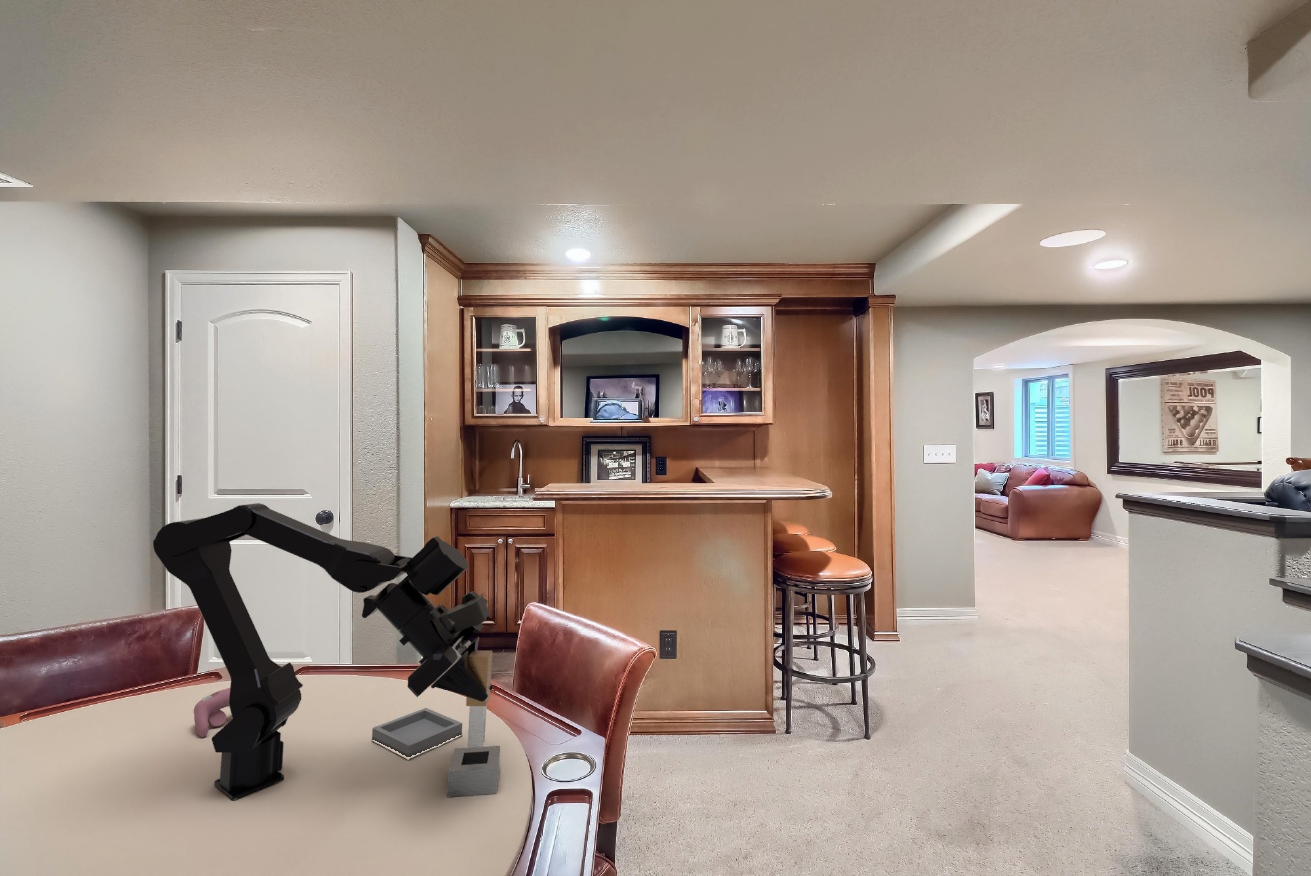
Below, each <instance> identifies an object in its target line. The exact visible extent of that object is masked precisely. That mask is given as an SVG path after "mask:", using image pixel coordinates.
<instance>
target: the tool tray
mask: <svg viewBox="0 0 1311 876" xmlns="http://www.w3.org/2000/svg"><path fill="white" fill-rule="evenodd" d="M371 731H372V733H371V741H372V740H375V741H377V742H379V743H381V744H383V745H385V746H387V747H390V748H391V749H394V750H395V751H398V752H399V753H401V754H402V755H405V756H406V757H411V756H412V755H416V754H417V753H421V752H422V751H425V750H427V749H430V748H432V747H434V746H438V745H439V744H442V743H443V742H446V741H447V740H450V739H451V738H455V737H456V736H459V735H461V734H462V735H463V722H460V721H458V720H456V719H453V718H452V717H449V716H446V715H445V714H442V713H439V712H437V711H435V710H432V709H430V708H427V707H424V708H421V709H420V710H416V711H414V712H410V713H408V714H406V715H403V716H400V717H398V718H395V719H392V720H389V721H387V722H385V723H381V724H379V725H377V726H376V725H375V726H374V727H372V730H371Z"/></svg>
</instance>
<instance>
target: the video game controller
mask: <svg viewBox="0 0 1311 876" xmlns="http://www.w3.org/2000/svg"><path fill="white" fill-rule="evenodd" d="M229 694H230V687H229V688H225V689H221V690H218V691H216V692H213V693H211V694H208V695H206V696H205V697H203V698H202V699H201V700H199V701H198V702H196V704H195V705H194V708H193V715H194V717H193V718H194V725H195V729H196V732H197V734H198V736H199V737H200V738H205V737H206V736H207V735H208V730H209V726H210V727H212V728H217V727H220V726H221V725H223V724H224V723H225V722H226V720H227V714H226V712H225V711H224V710H221V709H224V708H228V707H229ZM230 716H231V718H232V715H231V714H230Z"/></svg>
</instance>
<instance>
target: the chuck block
mask: <svg viewBox="0 0 1311 876" xmlns="http://www.w3.org/2000/svg"><path fill="white" fill-rule="evenodd" d="M500 756H501V745H491V746H490V745H488V746H482V747H457V748H454V750H453V754H452V757H451V762H450V763H449V767H448V768H449V769H448V772H447V773H448V775H447V789H446V790H447V791H446V792H447V793H446V795H447V796H446V798H455V797H457V798H458V797H469V796H481V795H494V794H497V788H498V782H499V773H500V760H501V759H500V758H501V757H500Z"/></svg>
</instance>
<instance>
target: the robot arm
mask: <svg viewBox="0 0 1311 876" xmlns="http://www.w3.org/2000/svg"><path fill="white" fill-rule="evenodd" d="M244 536H249V537H252V538H254V539H256V540H259V541H261V542H263V543H266V544H268V545H270V546H271V547H275V548H277V549H279V550H282V551H283V552H284V551H285V552H287V553H289V554H292V555H294V556H297V557H299V558H301V559H303V560H305V561H308V562H310V563H313V564H314V565H315V564H316V565H317V566H319V567H320V568H322V569H323V570H324V571H325V572H326V573H327V574H328V576H329V577H330V578H331V579H333V581H335V582H337V583H338V584H340V585H341V586H343V587H345V588H346V589H348V590H349V591H352V592H354V593H357V594H358V593H359V594H362V593H367V592H370V591H372V590H374V589H375V588H378V587H380V586H381V585H383V584H386V583H388V582H389V583H388V584H387V585H386V586H384V587H383V588H382V589H380V591H379V592H378V593H377V594H375V595H373V594H369V595H368V596H366V597H365V598H363V600H362V601H363V606H362V607H363V608H362V613H361V617H362V618H363V619H366V618H368V617H370V616H371V615H373V614H374V613H377V611H378V612H379V613H380V614H381V615H382V616H383V617H384V618H385V619H386V620H387V621H388V622H389V623H390V624H391V625H392V626H393V628H394V629H396V631H397V632H398V633H399V634H400V635H401V636H402V637H401V638H400V639H399V640H398V641H399V642H400V644H401V645H402V646H403V647H404V646H406V645H407V644H408V643H409V645H410V646H411V647H412V648H413V649H414V650H415V651H416V652H417V653H418V654H419V656H420V657H422V658H421V659H420V660H419V661H418V663H419V666H418V667H416V668H415V669H414V671H413V672H412V673H411V674H410V675H409V676H408V677H407V688H408V689H409V690H410V692H412V693H413V695H414V696H415V697H416V698H418V697H420V695H422V694H423V693H424V692H425V691H426V690H427V689H428V688H429V687H430V688H432V689H436V688H437V689H440V690H444V691H448V692H451V693H455V694H458V695H461V696H463V697H466V698H467V697H469V698H472V699H475V700H478V701H481V702H483V701H484V700H486V699H487V697H488V694H487V693H486V691H485V689H484V688H483V686H482V685H481V684H480V682H479V681H478V679H477V678H476V677H475V675H474V674H473V672H472V671H471V670H470V668H469V667H468V658H469V655H470V654H471V653H472V652H473V650H478V646H479V641H480V637H479V636H478V637H476V638H475V639H474V640H473V641H472V642H471V641H470V640H471V639H472V638H473V637H474V636H475V635H476V634H478V633H480V632H481V630H483V628H484V625H483V623H484V622H486V620H487V618H488V617H490V616H491V613H490V611H489V609H488V606H487V604H488V599H486V598H485V597H484V596H483V594H481V595H479V594H478V593H477V592H476V591H475V590H473V591H470V592H467V593H466V594H464V595H463V596H462V597H461V604H458V605H456V606H455V607H452V608H451V609H447V608H446V606H445V605H444V604H438V605H437V606H435V605H434V604H433V602H431V601H430V599H429V598H428V597H427V596H429V595H430V594H432V595H434V596H439V595H441V594H442V593H443V592H444V591H445V590H446V589H447V588H448V587H449V586H450V585H451V584H452V583H453V582H455V581H456V579H458V578H459V577H460V576H461V575H462V574H463V573H464V572H466V570H468V568H469V563H468V561H467V560H466V558H465V556H464V554H462V552H461V551H460V550H459V549H458V548H455V547H454V546H452V544H449V543H448V542H446V541H444V540H442V539H441V538H440V536H438V535H436V536H433V537H431V538H430V539H429V540H428V541H427V542H426V543H425V545H424V546H423V547H422V548H421V549H420V550H419V551H418V552H417V553H415V555H414V556H413V557H410V556H405V555H398V554H395V553H394V552H393V551H391V549H389V548H387V547H385V546H382V545H377V544H372V543H369V542H363V541H357V540H347V539H344V538H339V537H337V536H335V535H332V534H330V533H327V532H326V531H323V530H320V529H318V528H317V527H313V526H311V525H309V524H306V523H305V522H301V521H299V520H298V519H295V518H292V517H289V516H287V515H285V514H283V513H280V512H277V511H276V510H274V509H271V508H270V507H268V505H266V504H264V503H259V502H255V503H249V504H240V505H236V506H234V507H233V508H231V509H228V510H225V511H224V512H219V513H217V514H213V515H211V516H206V517H201V518H195V519H194V518H193V519H187V520H179V521H173V522H171V523H166V524H165V525H163V526H162V527H161V528H160V529H159V530H158V532H157V534H156V535H155V538H154V539H153V540H152V549H153V552H154V553H155V555H156V557H157V558H158V559H159V561H160V562H161V564H162V565H163V566H164V568H165V569H166V571H167V572H168V573H169V574H170V575H172V576H173V577H175V578H176V579H178V580H179V581H180V582H182V583H184V584H185V585H186V586H187V587H188V588H189V589H190V592H191V594H192V596H193V599H194V601H195V603H196V605H197V608H198V609H199V611H200V614H201V616H202V618H203V621H204V622H205V625H206V627H207V629H208V631H209V634H210V636H211V638H212V639H213V643H214V644H215V647H216V649H217V651H218V653H219V655H220V657H221V659H222V662H223V665H224V666H225V668H226V669H225V670H227V671H226V672H228V675H229V677H230V686H229V688H230V694H229V706H228V707H229V711H230V716H231V715H232V717H231V720H229V721H228V723H226V724H225V725H224V726H223V727H222V728H221V729H219V730H218V731H217V732H216V733H215V734H214V735H213V736H212V737H211V742H212V745H213V749H214V752H215V753H219V754H221V758H220V760H221V761H220V771H219V774H220V775H219V778H217V779H215V780H214V783H213V785H214V786H215V787H216V788H217V789H218V790H220V791H221V792H222V793H224V794H225V795H226V796H227V797H228V798H230V799H231V800H236V799H239V798H241V797H243V796H244V797H245V796H246V795H249V794H251V793H254V792H257V791H259V790H261V789H264V788H266V787H269V786H271V785H274V784H277V783H279V782H281V781H284V779H285V774H283V773H281V772H280V771H282V770H283V761H284V759H283V758H284V748H285V747H284V745H285V743H284V741H282V740H281V737H282V732H280V731H279V729H280V728H282V727H284V726H285V725H286V724H287V721H288V720H289V717H291V716H292V715H293V714H294V713H295V712H296V711H297V710H298V708H299V706H300V703H301V701H302V693H301V688H303V686H304V684H303V683H301V681H299V679H298V678H297V676H296V672H295V668H294V666H293V665H292V663H291V662H288V663H285V664H284V665H283V666H280V665H279V664H277V663H276V662H275V661H273V660H272V659H271V658H270V657H269V655H268V652H267V650H266V648H265V646H264V643H263V641H262V639H261V637H260V635H259V633H258V630H257V629H256V625H255V624H254V622H253V620H252V618H251V615H250V613H249V610H248V609H247V606H246V604H245V602H244V600H243V598H242V595H241V593H240V591H239V589H238V586H237V585H236V583H235V581H234V577H233V575H232V573H231V571H230V564H231V559H232V547H231V543H230V542H233V541H234V540H237V539H240V538H243V537H244ZM404 574H406V576H405V577H404V578H403V579H402V580H401V581H400V582H398V583H395V582H392V581H393V580H395V579H397V578H399V577H400V576H403V575H404ZM493 689H494V686H493V684H492V683H491V691H492V690H493Z"/></svg>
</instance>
